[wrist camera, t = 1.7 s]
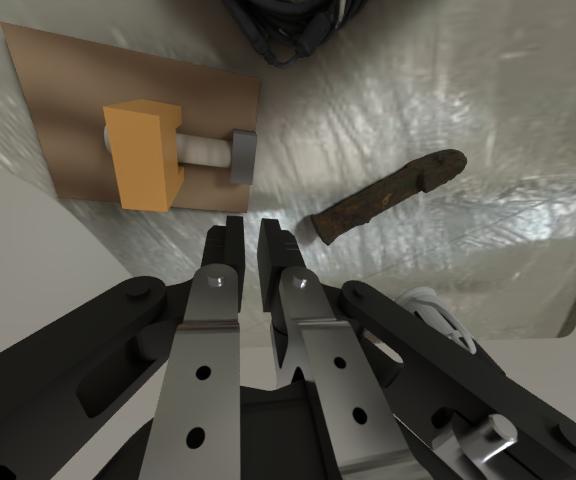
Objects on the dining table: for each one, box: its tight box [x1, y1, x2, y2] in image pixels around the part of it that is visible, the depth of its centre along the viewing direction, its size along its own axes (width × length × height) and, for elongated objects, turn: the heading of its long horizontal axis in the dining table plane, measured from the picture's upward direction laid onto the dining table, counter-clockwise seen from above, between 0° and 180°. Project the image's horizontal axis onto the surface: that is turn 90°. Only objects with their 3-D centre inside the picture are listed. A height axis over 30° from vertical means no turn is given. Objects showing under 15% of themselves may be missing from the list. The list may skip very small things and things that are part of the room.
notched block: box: [103, 99, 184, 212], centre depth 19 cm, size 7×3×7 cm, turn 170°
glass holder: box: [395, 287, 506, 376], centre depth 38 cm, size 9×14×15 cm, turn 24°
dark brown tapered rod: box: [311, 149, 467, 246], centre depth 29 cm, size 19×4×5 cm, turn 116°
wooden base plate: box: [0, 22, 260, 213], centre depth 22 cm, size 13×18×4 cm
